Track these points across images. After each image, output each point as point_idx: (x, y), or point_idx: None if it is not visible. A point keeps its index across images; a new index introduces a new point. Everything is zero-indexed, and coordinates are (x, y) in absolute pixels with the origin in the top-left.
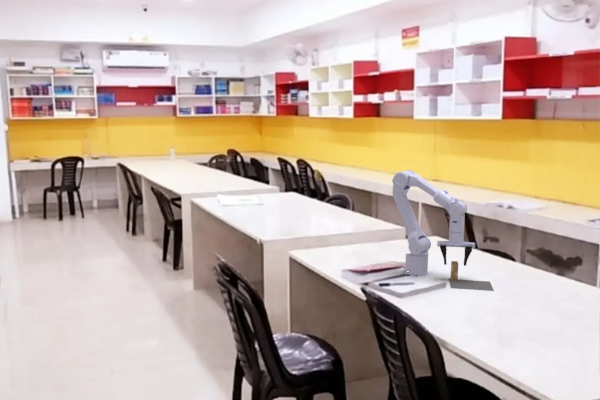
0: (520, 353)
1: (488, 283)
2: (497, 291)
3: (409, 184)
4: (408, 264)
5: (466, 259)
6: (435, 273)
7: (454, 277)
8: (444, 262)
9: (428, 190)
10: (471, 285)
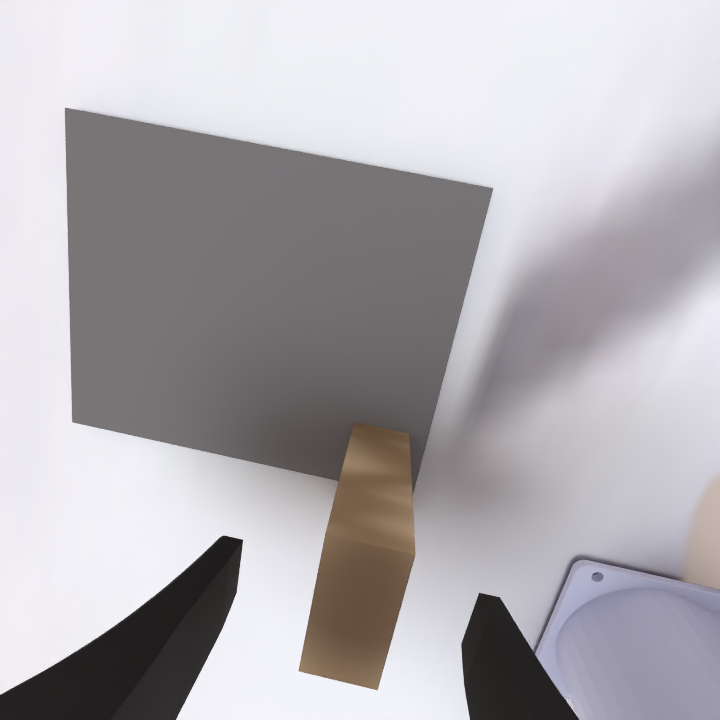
0: None
1: (90, 364)
2: (43, 154)
3: None
4: None
5: (169, 598)
6: (461, 666)
7: (381, 444)
8: (514, 622)
9: None
10: (252, 295)
